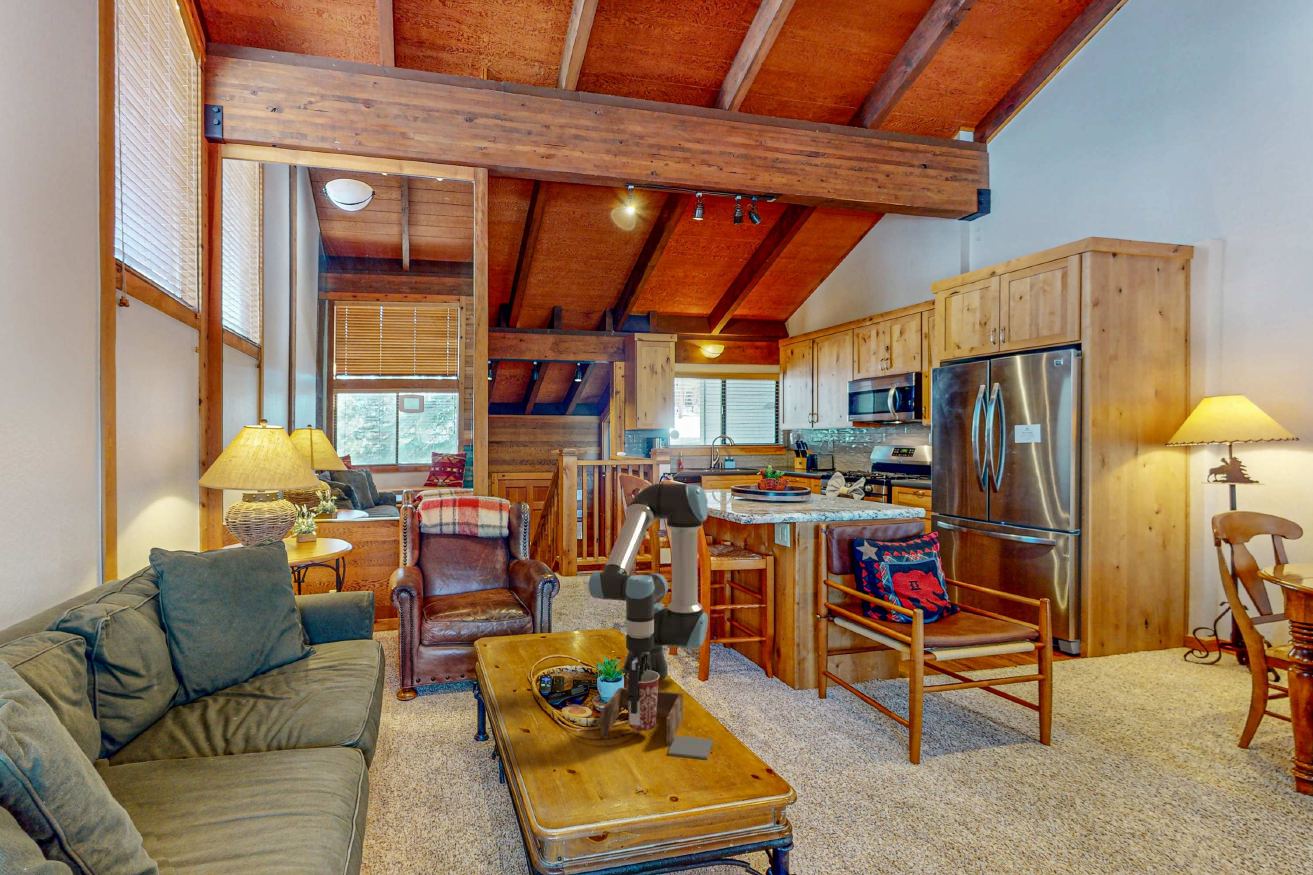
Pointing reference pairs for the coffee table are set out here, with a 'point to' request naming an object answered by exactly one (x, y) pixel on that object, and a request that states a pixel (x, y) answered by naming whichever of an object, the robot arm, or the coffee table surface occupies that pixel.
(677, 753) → the pad
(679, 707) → the wooden u-shaped barrier
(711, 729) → the coffee table surface
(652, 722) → the mug
